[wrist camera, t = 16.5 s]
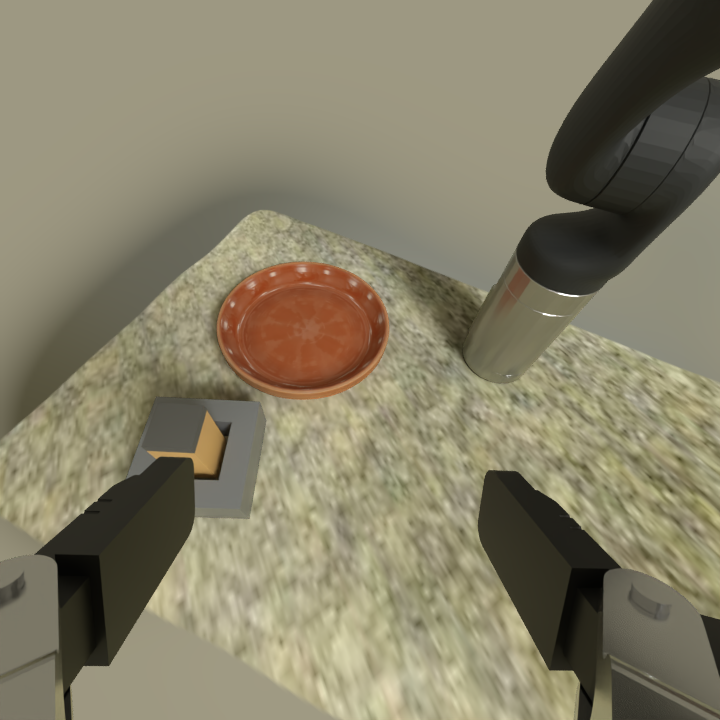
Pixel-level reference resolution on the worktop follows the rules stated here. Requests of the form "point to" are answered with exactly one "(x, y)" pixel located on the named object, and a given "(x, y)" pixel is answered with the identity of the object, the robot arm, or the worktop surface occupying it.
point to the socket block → (240, 461)
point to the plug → (187, 438)
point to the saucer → (303, 330)
